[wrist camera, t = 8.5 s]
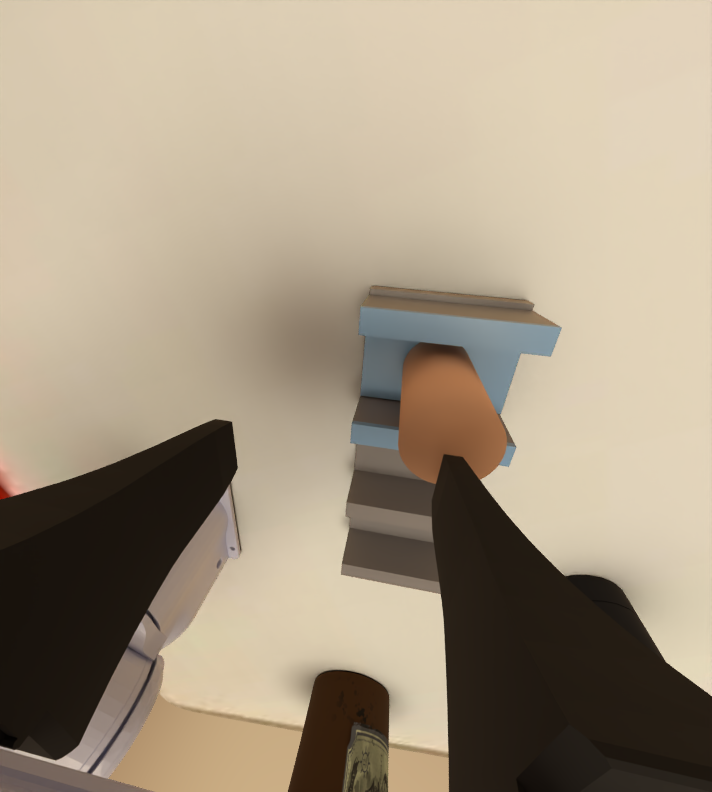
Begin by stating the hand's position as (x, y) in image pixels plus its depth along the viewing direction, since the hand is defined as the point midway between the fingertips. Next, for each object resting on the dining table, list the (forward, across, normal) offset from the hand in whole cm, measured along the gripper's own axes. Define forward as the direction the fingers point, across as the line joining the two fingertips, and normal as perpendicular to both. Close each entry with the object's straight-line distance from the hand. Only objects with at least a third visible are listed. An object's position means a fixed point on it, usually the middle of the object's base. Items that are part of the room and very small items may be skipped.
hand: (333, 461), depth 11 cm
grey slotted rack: (+9, -4, +5) cm, 11 cm away
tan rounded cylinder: (+8, -4, -1) cm, 9 cm away
